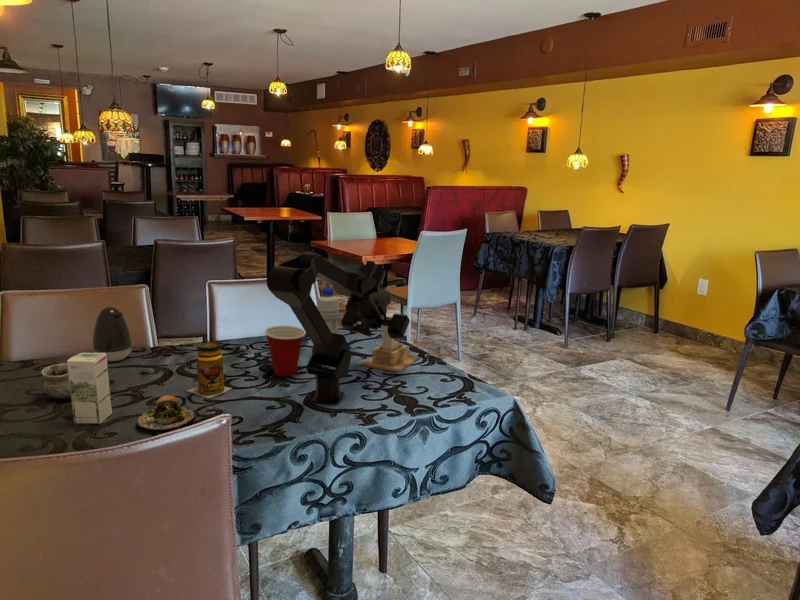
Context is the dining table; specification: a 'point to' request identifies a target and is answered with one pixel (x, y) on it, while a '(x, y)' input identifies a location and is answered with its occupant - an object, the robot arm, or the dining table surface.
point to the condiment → (209, 371)
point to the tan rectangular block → (388, 341)
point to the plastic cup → (284, 348)
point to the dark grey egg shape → (111, 335)
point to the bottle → (329, 309)
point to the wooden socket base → (390, 359)
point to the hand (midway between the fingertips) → (384, 337)
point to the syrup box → (89, 387)
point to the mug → (56, 381)
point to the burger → (166, 415)
